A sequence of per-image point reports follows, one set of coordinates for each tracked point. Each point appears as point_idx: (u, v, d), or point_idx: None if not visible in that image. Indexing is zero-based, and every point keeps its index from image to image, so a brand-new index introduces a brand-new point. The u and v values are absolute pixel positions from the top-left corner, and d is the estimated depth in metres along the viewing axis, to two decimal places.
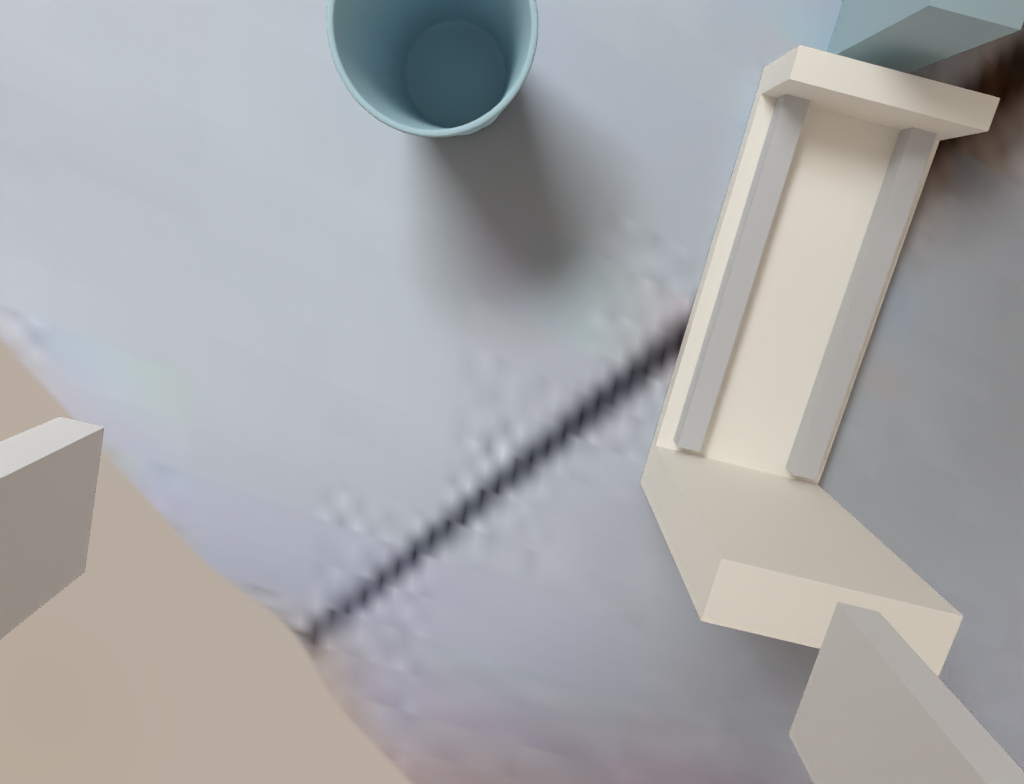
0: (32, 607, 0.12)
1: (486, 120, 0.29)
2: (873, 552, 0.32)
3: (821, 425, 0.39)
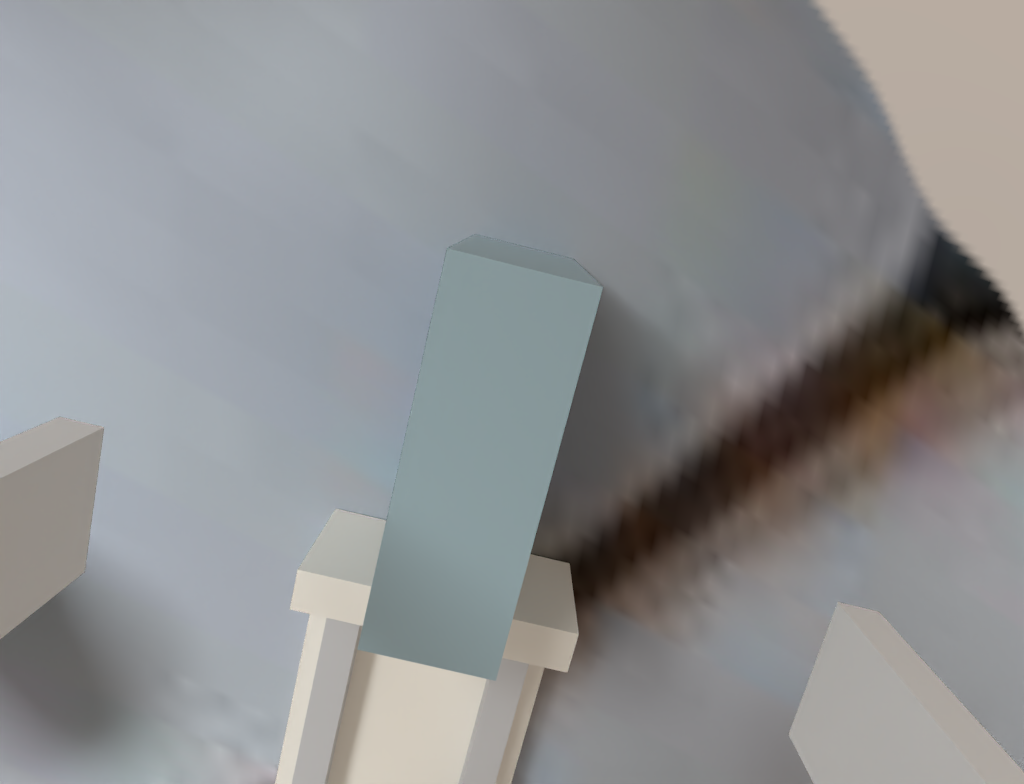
0: (32, 607, 0.12)
1: None
2: None
3: None
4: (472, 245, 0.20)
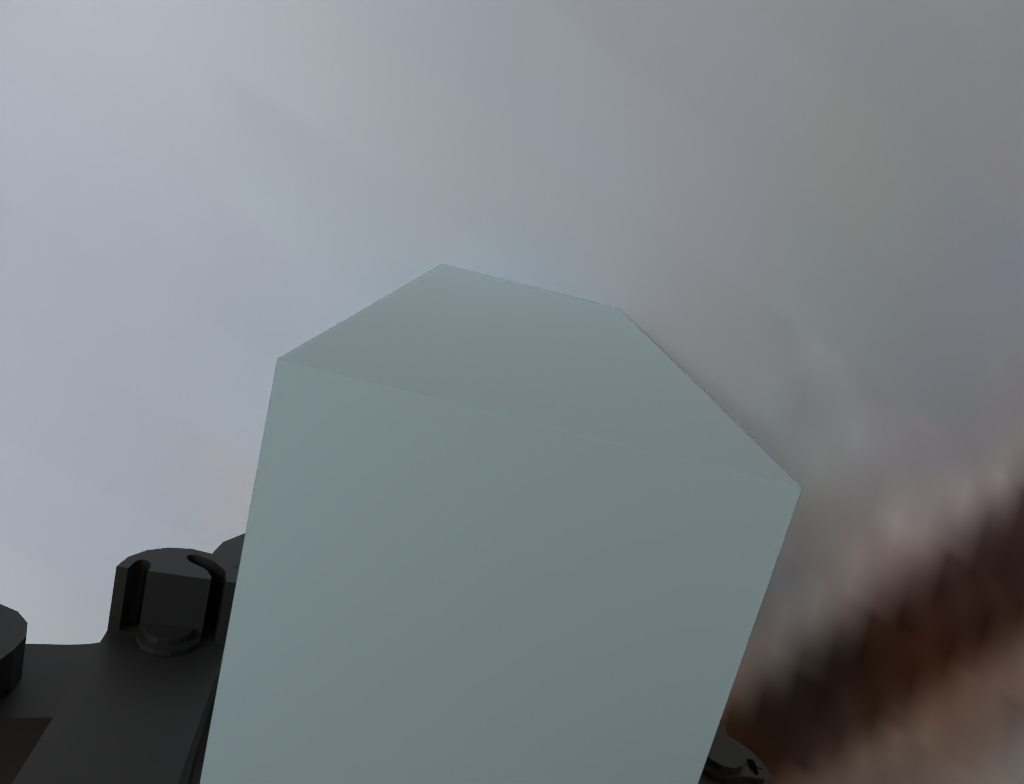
0: None
1: None
2: None
3: None
4: (406, 311, 0.08)
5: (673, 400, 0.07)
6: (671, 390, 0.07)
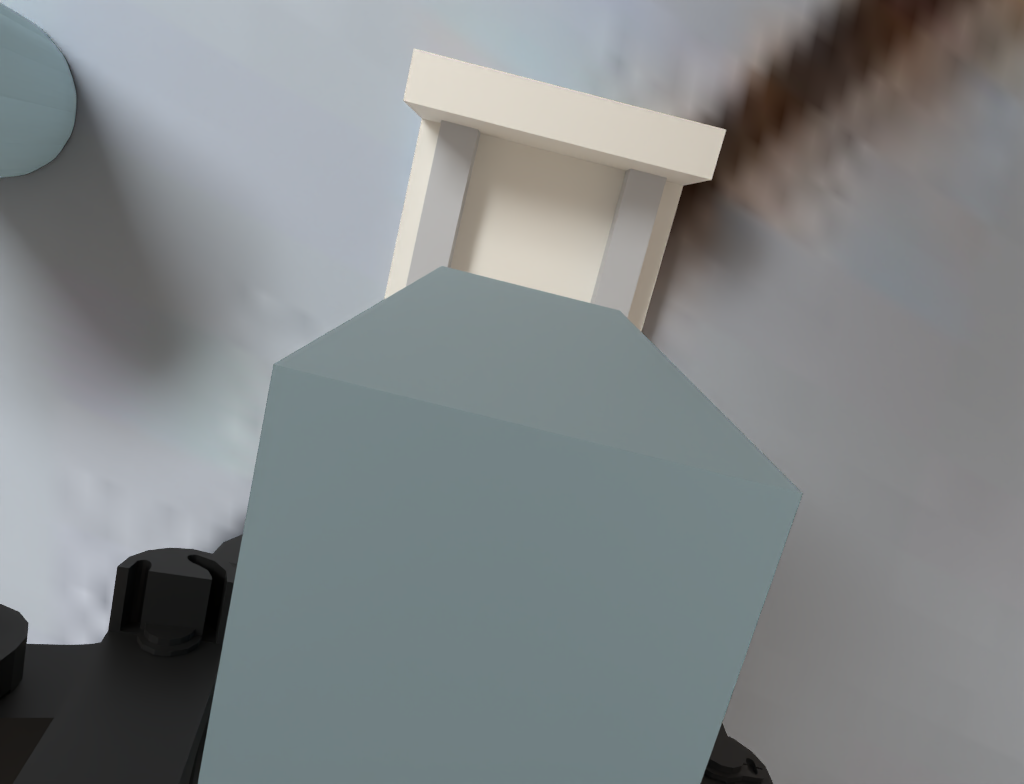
0: None
1: None
2: None
3: None
4: (405, 314, 0.08)
5: (673, 404, 0.07)
6: (671, 394, 0.07)
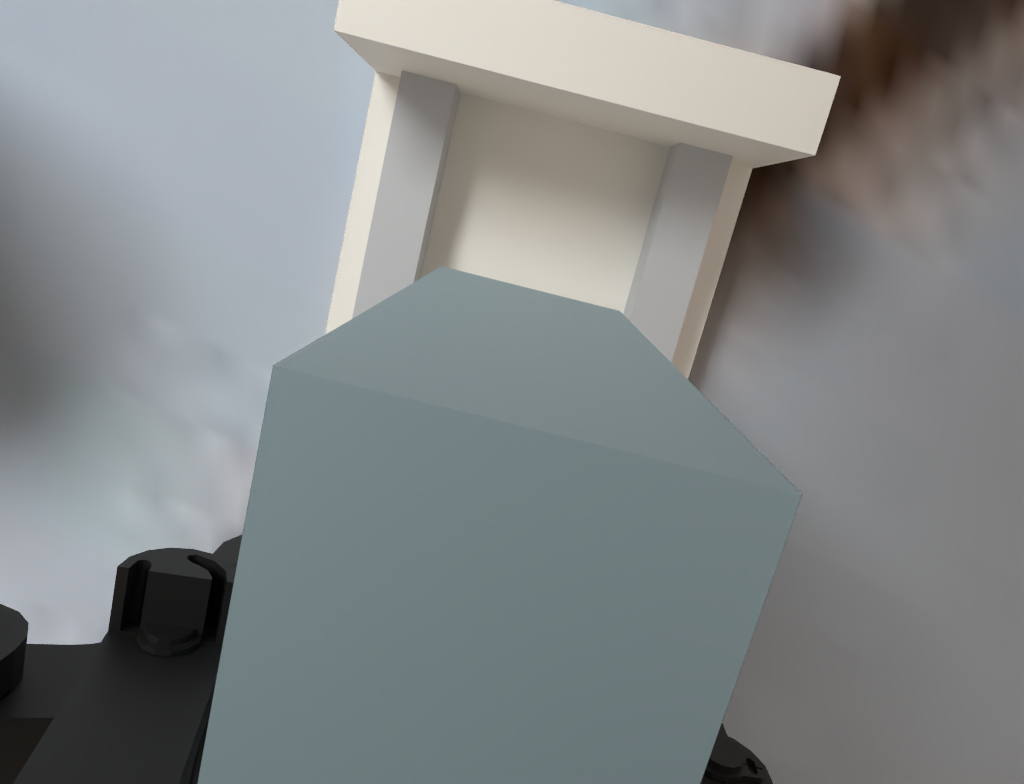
0: None
1: None
2: None
3: None
4: (405, 315, 0.08)
5: (672, 404, 0.07)
6: (670, 394, 0.07)
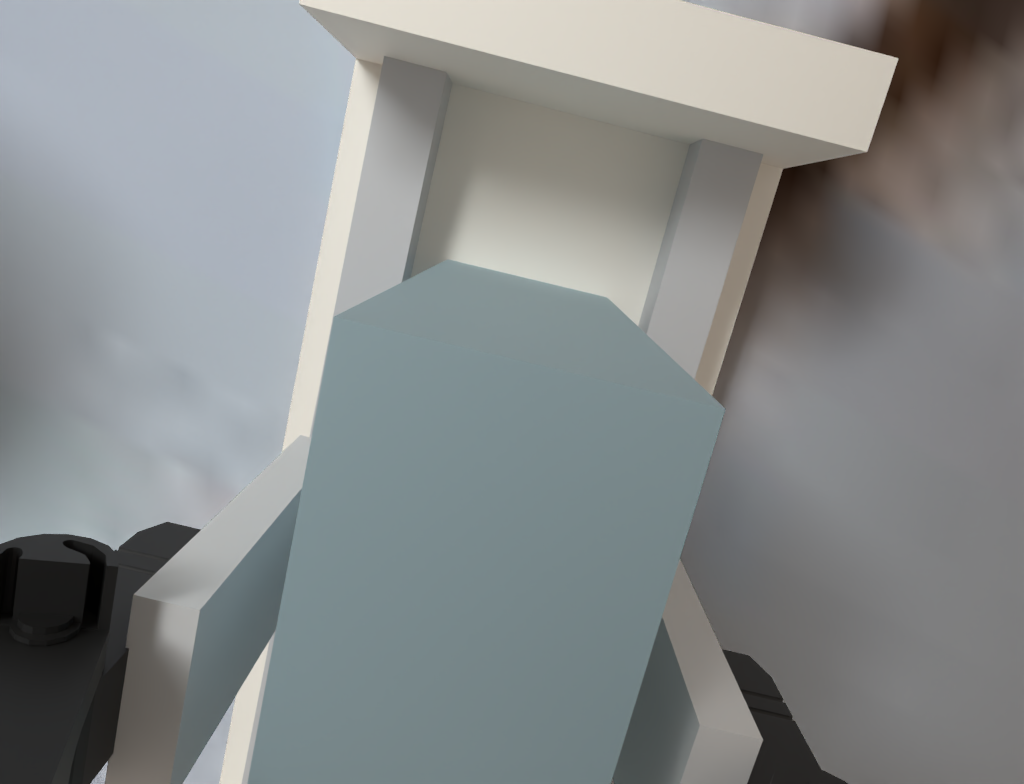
0: None
1: None
2: None
3: None
4: (422, 291, 0.10)
5: (638, 357, 0.09)
6: (639, 351, 0.09)
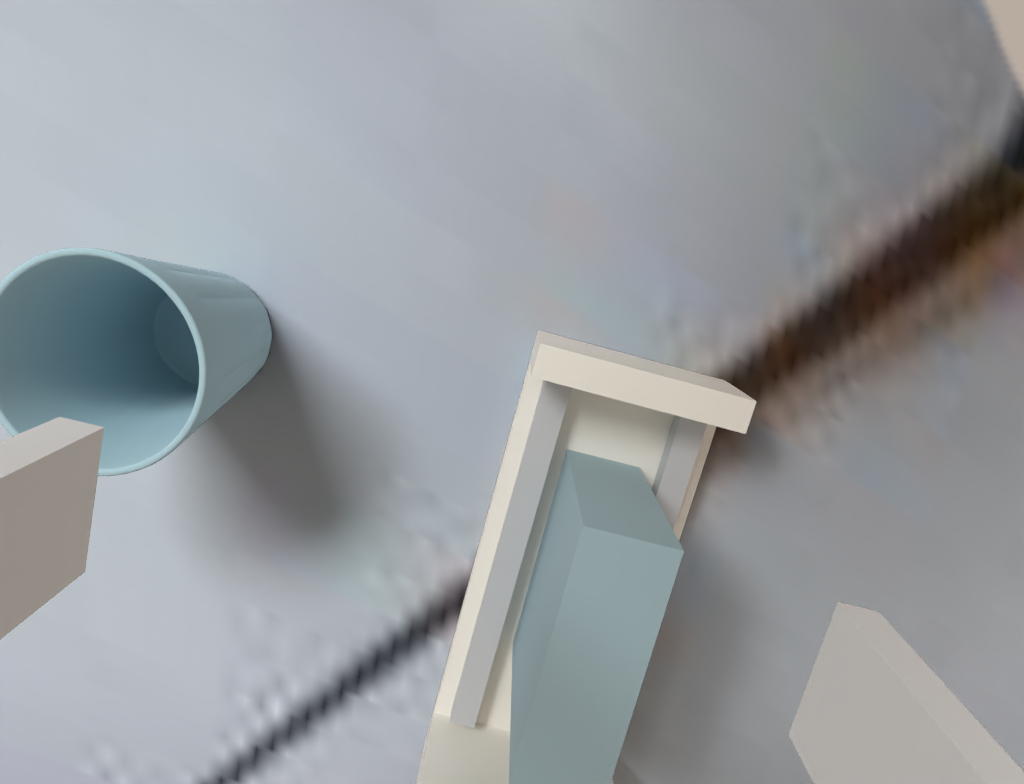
0: (32, 607, 0.12)
1: (155, 461, 0.26)
2: None
3: None
4: (585, 497, 0.29)
5: (659, 526, 0.28)
6: (659, 522, 0.28)
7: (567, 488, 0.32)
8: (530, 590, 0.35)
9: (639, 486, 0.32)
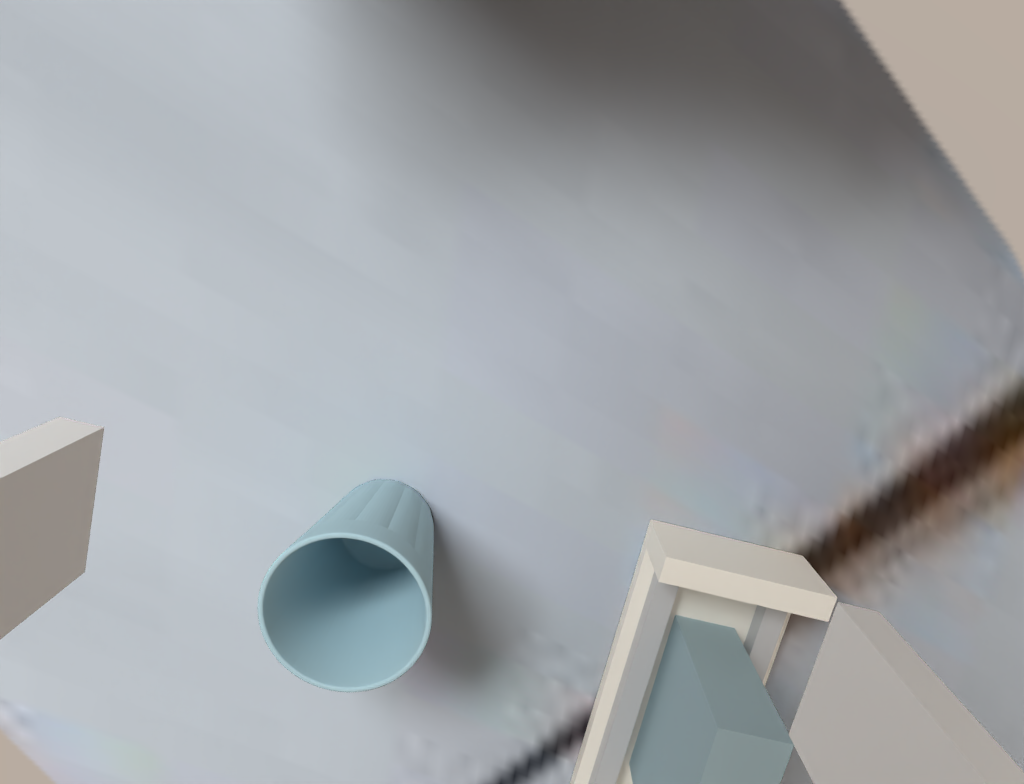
0: (32, 607, 0.12)
1: (391, 681, 0.34)
2: None
3: None
4: (709, 686, 0.37)
5: (770, 714, 0.36)
6: (768, 708, 0.36)
7: (685, 663, 0.40)
8: (647, 728, 0.44)
9: (741, 658, 0.41)
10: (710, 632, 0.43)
